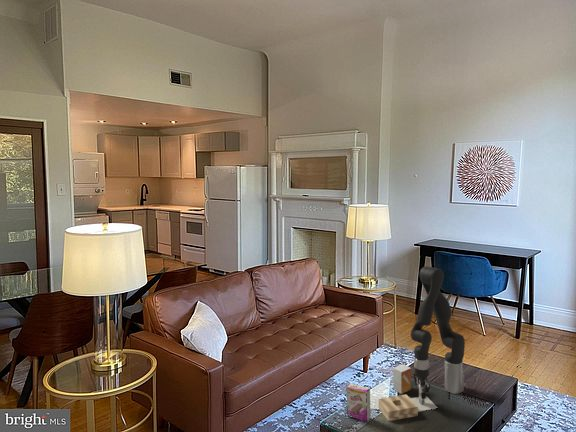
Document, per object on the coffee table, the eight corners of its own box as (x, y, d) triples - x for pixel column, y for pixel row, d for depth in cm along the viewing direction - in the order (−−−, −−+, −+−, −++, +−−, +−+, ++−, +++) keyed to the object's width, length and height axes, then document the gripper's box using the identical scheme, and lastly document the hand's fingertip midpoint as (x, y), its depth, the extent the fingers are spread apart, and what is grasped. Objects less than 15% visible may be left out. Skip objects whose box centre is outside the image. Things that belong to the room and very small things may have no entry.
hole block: (406, 403, 231) (406, 394, 230) (417, 415, 219) (417, 406, 219) (378, 407, 228) (378, 399, 227) (388, 421, 216) (388, 411, 215)
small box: (401, 394, 240) (401, 372, 238) (393, 389, 245) (392, 367, 243) (411, 389, 244) (411, 367, 242) (402, 385, 249) (402, 363, 248)
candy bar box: (346, 417, 221) (345, 386, 219) (350, 411, 225) (349, 382, 223) (367, 423, 215) (366, 392, 213) (371, 417, 219) (370, 387, 217)
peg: (423, 400, 231) (422, 382, 230) (426, 403, 228) (425, 385, 227) (417, 401, 230) (417, 383, 229) (420, 404, 228) (420, 386, 226)
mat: (425, 396, 236) (425, 395, 236) (437, 408, 225) (437, 407, 225) (405, 399, 234) (405, 399, 234) (416, 412, 222) (416, 411, 222)
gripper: (435, 371, 221) (435, 402, 223) (421, 358, 234) (421, 388, 236) (421, 373, 219) (422, 405, 221) (408, 361, 233) (408, 391, 235)
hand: (421, 396), depth 229 cm, fingers closed on peg, 3 cm apart
